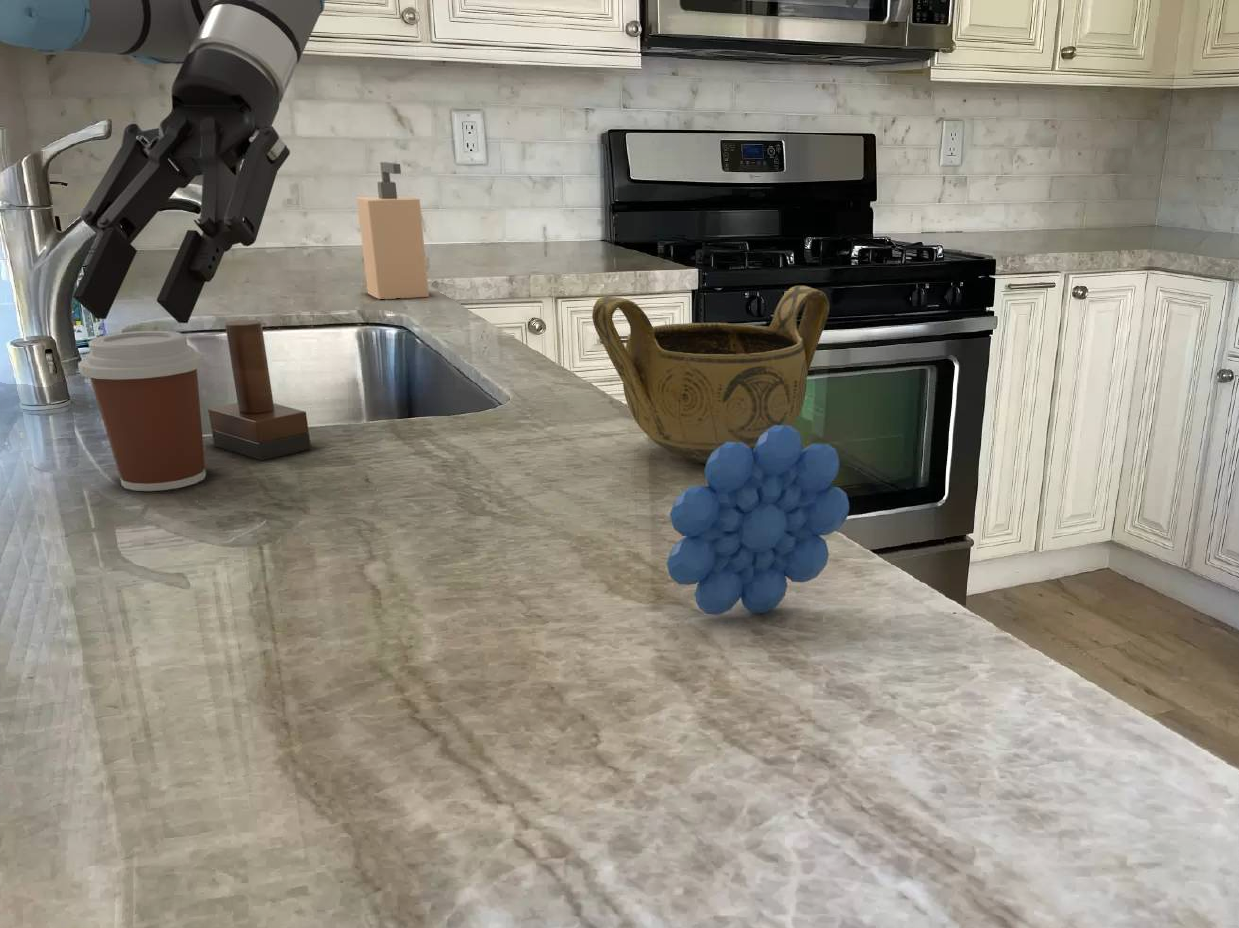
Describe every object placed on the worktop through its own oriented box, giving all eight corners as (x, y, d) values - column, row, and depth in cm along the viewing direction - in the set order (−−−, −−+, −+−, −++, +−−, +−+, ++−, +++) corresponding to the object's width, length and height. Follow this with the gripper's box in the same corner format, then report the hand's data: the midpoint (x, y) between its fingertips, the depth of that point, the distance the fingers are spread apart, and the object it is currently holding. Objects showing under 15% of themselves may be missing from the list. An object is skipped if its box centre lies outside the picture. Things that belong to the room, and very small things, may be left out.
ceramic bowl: (645, 497, 92) (640, 312, 87) (567, 448, 106) (558, 285, 100) (866, 460, 103) (873, 293, 98) (769, 420, 117) (771, 271, 111)
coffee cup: (132, 465, 100) (105, 328, 95) (238, 463, 100) (216, 328, 96) (82, 496, 91) (50, 348, 87) (199, 495, 92) (172, 347, 87)
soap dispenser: (367, 293, 199) (352, 161, 191) (416, 290, 203) (403, 161, 195) (384, 303, 189) (369, 164, 181) (435, 299, 193) (423, 163, 185)
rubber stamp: (213, 446, 106) (192, 321, 101) (263, 435, 109) (244, 314, 105) (261, 460, 101) (241, 331, 97) (311, 449, 105) (294, 323, 101)
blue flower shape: (820, 577, 76) (825, 403, 72) (859, 616, 70) (868, 429, 66) (652, 597, 73) (647, 415, 69) (678, 639, 67) (675, 444, 63)
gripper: (361, 116, 94) (272, 345, 86) (160, 114, 98) (55, 333, 89) (317, 42, 88) (215, 283, 79) (103, 43, 92) (-17, 273, 83)
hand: (130, 309), depth 84 cm, fingers open, 6 cm apart
